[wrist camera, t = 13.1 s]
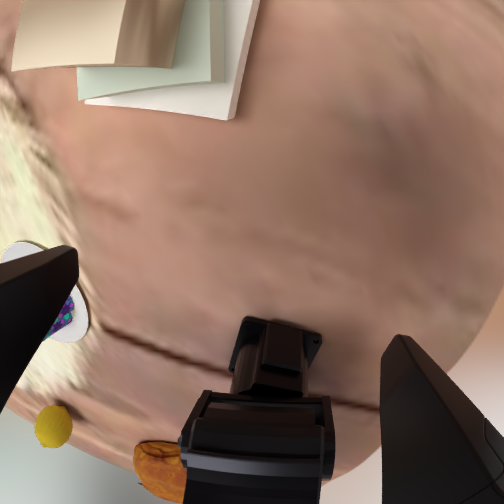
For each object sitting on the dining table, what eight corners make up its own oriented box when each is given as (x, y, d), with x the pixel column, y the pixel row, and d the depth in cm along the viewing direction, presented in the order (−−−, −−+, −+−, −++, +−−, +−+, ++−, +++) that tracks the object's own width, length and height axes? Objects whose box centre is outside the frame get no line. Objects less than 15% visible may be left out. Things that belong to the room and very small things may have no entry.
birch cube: (171, 69, 12) (113, 63, 8) (82, 67, 12) (11, 71, 8) (192, -29, 10) (146, -72, 5) (99, -22, 10) (35, -43, 6)
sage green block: (225, 82, 15) (210, 80, 12) (108, 96, 16) (78, 100, 13) (223, -33, 12) (209, -54, 9) (107, -9, 13) (79, -19, 10)
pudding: (92, 263, 25) (58, 299, 20) (93, 353, 31) (72, 388, 26) (-1, 222, 24) (-36, 247, 20) (13, 311, 30) (-12, 338, 25)
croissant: (239, 471, 44) (239, 513, 37) (150, 469, 44) (144, 508, 37) (223, 433, 37) (221, 486, 30) (116, 429, 38) (104, 476, 31)
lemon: (57, 410, 40) (36, 447, 33) (45, 390, 37) (20, 429, 30) (84, 422, 39) (64, 462, 32) (73, 402, 37) (50, 444, 30)
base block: (236, 116, 19) (226, 120, 16) (109, 100, 19) (84, 104, 16) (265, -15, 14) (260, -32, 12) (132, -19, 14) (110, -31, 12)
